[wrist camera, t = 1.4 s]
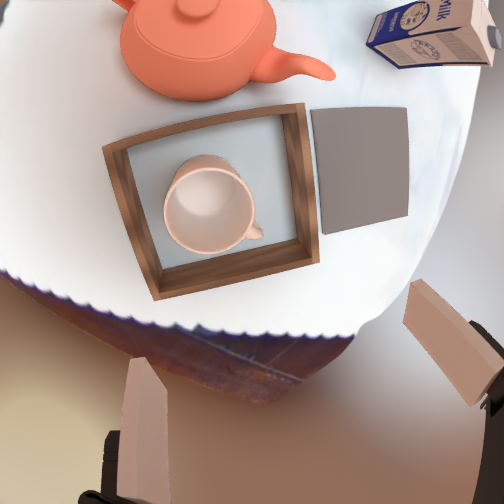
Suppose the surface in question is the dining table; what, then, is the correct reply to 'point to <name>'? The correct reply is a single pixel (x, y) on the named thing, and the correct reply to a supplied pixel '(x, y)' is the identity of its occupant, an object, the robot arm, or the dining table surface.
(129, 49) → the teapot
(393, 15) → the milk carton
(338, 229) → the slate trivet
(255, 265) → the walnut caddy
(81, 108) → the dining table surface
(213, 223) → the mug
